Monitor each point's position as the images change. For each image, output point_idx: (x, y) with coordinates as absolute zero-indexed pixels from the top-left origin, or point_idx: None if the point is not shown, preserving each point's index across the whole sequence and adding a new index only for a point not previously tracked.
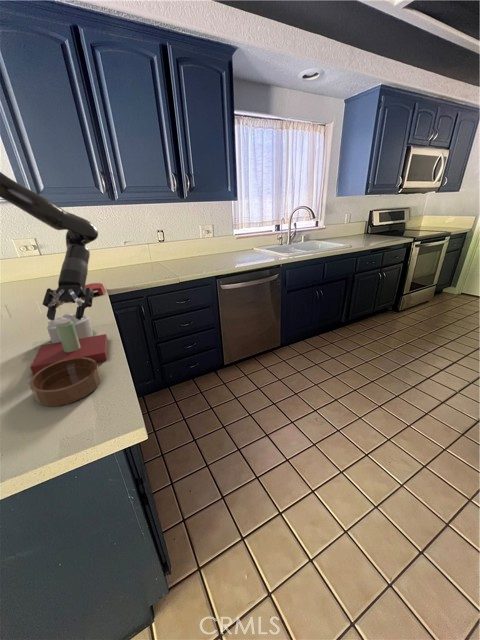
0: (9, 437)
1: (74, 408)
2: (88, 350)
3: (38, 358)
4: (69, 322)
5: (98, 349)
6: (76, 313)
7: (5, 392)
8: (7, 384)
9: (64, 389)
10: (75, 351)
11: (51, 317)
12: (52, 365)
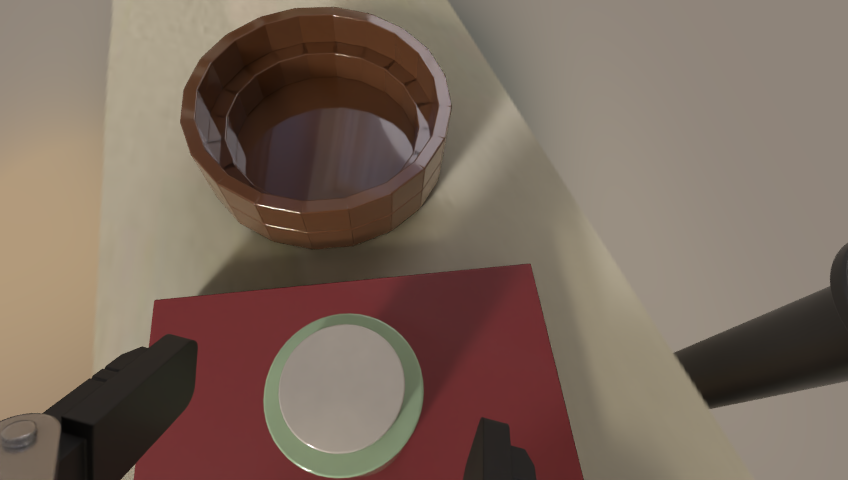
0: (441, 4)
1: None
2: (252, 357)
3: (529, 346)
4: (287, 365)
5: None
6: (159, 360)
7: (570, 193)
8: (597, 245)
9: (300, 8)
10: None
11: (475, 446)
12: (396, 175)
